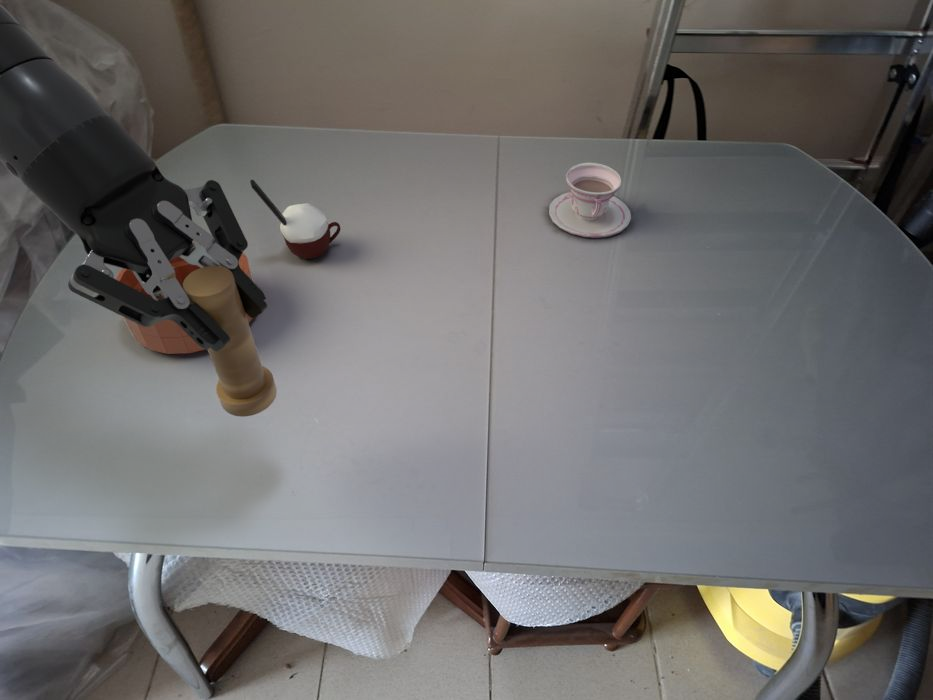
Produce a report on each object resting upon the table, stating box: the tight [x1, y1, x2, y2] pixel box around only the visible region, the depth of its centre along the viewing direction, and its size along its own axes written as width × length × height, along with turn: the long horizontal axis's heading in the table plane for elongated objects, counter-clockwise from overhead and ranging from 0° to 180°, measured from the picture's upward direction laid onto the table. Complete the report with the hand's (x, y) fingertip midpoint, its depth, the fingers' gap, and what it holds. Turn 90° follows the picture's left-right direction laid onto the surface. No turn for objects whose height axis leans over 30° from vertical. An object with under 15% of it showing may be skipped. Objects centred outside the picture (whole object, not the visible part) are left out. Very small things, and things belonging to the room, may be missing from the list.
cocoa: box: [249, 179, 341, 260], centre depth 86 cm, size 10×6×12 cm, turn 89°
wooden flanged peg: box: [183, 266, 278, 418], centre depth 53 cm, size 5×5×13 cm
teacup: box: [548, 162, 632, 239], centre depth 95 cm, size 12×12×6 cm
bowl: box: [115, 244, 255, 355], centre depth 79 cm, size 15×15×6 cm
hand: (242, 328), depth 51 cm, fingers closed on wooden flanged peg, 3 cm apart
